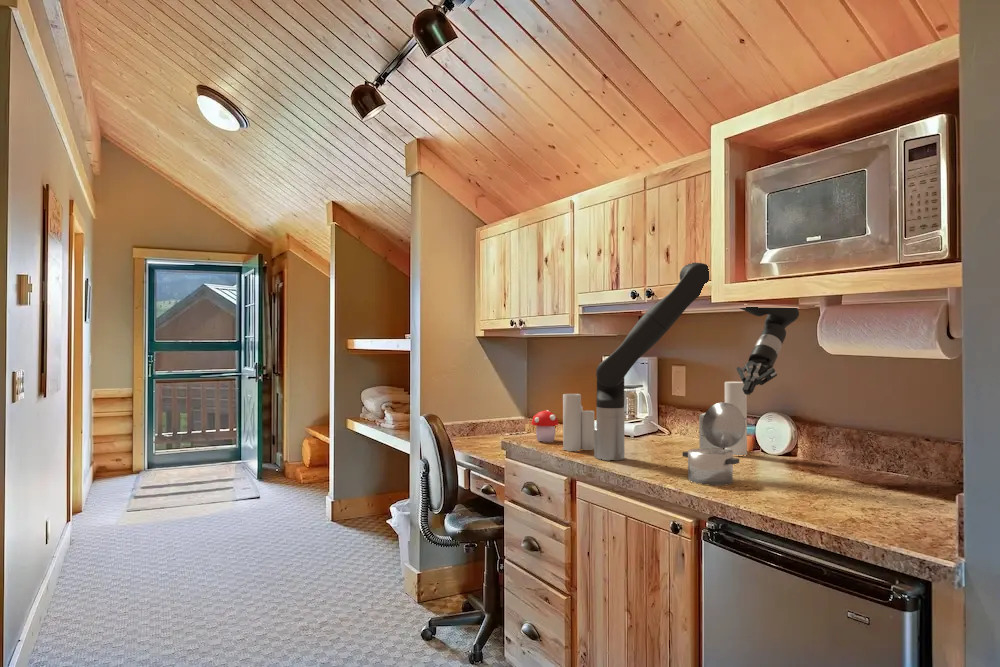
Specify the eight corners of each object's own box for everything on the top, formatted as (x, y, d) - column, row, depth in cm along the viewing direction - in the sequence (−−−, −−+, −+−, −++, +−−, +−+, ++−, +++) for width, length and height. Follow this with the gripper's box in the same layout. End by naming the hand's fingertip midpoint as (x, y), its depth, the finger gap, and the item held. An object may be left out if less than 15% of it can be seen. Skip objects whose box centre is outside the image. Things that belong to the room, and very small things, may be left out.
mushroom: (550, 443, 246) (550, 412, 246) (525, 441, 252) (525, 410, 252) (563, 440, 255) (563, 409, 255) (539, 437, 261) (539, 408, 261)
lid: (704, 400, 193) (710, 402, 195) (700, 444, 191) (706, 445, 193) (745, 404, 183) (751, 405, 185) (741, 450, 181) (747, 451, 183)
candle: (567, 452, 228) (567, 395, 229) (559, 448, 235) (559, 393, 235) (596, 450, 232) (596, 394, 232) (588, 447, 239) (588, 393, 239)
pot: (673, 478, 185) (673, 450, 185) (700, 472, 194) (699, 445, 194) (725, 488, 172) (724, 458, 173) (750, 481, 181) (750, 452, 181)
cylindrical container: (748, 456, 218) (748, 383, 219) (726, 456, 220) (726, 382, 220) (745, 453, 225) (744, 381, 226) (723, 452, 227) (723, 381, 227)
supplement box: (705, 446, 240) (705, 412, 240) (725, 448, 236) (725, 413, 236) (698, 449, 234) (698, 414, 234) (719, 451, 230) (719, 415, 230)
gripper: (741, 343, 208) (721, 383, 199) (782, 343, 198) (763, 385, 189) (749, 359, 211) (730, 399, 203) (790, 360, 201) (771, 402, 193)
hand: (746, 392), depth 196 cm, fingers closed
